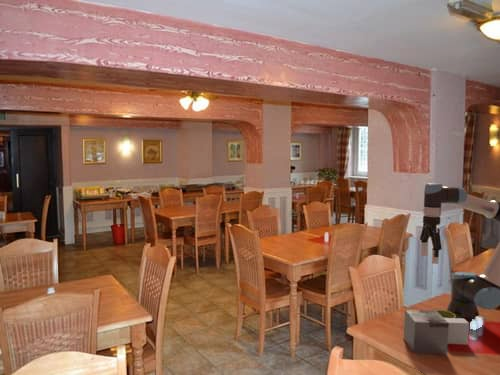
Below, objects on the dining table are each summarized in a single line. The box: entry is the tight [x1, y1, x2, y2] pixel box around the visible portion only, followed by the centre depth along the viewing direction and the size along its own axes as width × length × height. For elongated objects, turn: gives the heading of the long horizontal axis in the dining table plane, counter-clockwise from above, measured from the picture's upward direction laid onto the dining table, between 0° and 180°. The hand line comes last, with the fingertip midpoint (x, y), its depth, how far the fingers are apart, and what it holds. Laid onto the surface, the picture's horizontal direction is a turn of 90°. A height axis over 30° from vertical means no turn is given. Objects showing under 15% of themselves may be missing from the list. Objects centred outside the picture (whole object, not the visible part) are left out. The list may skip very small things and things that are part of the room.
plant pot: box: [435, 309, 456, 318], centre depth 194 cm, size 9×9×9 cm
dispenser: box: [403, 309, 449, 355], centre depth 179 cm, size 14×13×14 cm
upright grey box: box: [444, 318, 470, 345], centre depth 184 cm, size 10×5×10 cm, turn 87°
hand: (429, 259), depth 194 cm, fingers open, 13 cm apart
